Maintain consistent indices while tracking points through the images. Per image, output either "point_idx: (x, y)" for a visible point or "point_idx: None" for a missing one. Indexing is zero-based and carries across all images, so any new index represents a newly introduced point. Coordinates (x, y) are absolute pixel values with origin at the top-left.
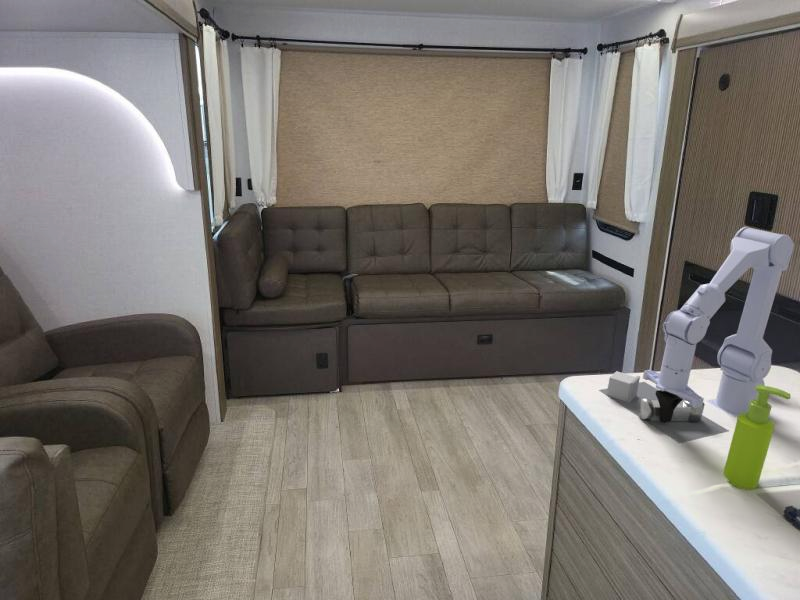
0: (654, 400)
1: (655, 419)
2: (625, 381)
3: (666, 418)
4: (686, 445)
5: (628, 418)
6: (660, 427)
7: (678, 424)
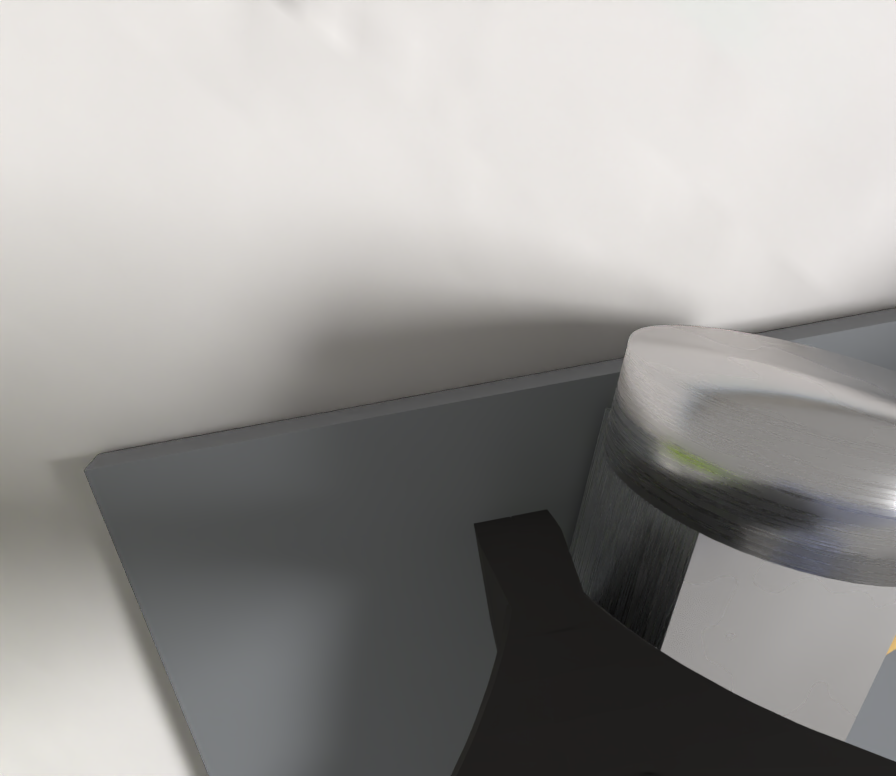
0: (872, 668)
1: (597, 483)
2: None
3: (487, 591)
4: (104, 538)
5: (794, 209)
6: (460, 457)
7: (480, 680)
